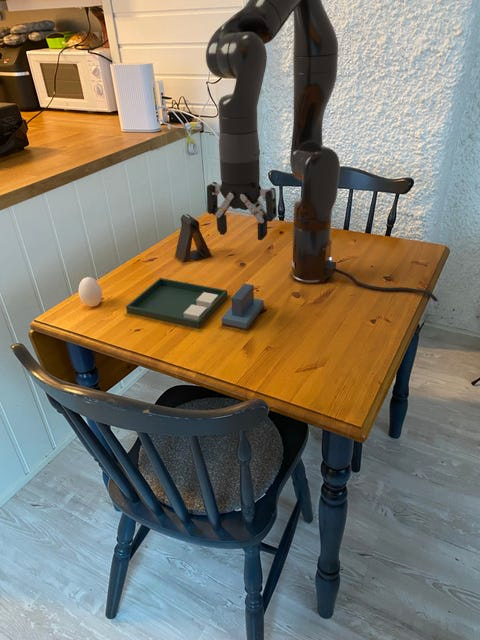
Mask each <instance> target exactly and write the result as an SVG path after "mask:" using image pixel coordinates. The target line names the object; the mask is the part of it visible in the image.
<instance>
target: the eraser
mask: <svg viewBox="0 0 480 640" xmlns="http://www.w3.org/2000/svg"><path fill="white" fill-rule="evenodd" d="M254 289H255V288H254V284H251V283H250V284H249V283H243V284H242V285H241V286H240V287H239V288H238V289H237V291H236V292H235V293H234V294H233V295H232V296H231V299H230V300H231V306H230V307H229V309H227V311H226V312H225V313H224V314H223V315H222V317H221V326H223V327H228V328H232V329H237V330H241V331H244V332H245V331H248V330H249V328H250V327H251V325H252V324H253V323H254V322H255V320H256V319H257V317H258V316H259V315H260V314H261V312H262V311H263V310H264V308H265V300H264V299H261V298H255V291H254Z"/></svg>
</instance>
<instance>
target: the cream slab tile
mask: <svg viewBox="0 0 480 640" xmlns="http://www.w3.org/2000/svg"><path fill="white" fill-rule="evenodd" d="M206 310H207V307H202V306H197V305H191V306H190V307H189V308H188V309H187V310H186V311H185V312H184V318H188V319H193V320H198V319H199V318H200V317H201V316H202V315H203V314H204V313H205V311H206Z"/></svg>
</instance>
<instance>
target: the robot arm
mask: <svg viewBox="0 0 480 640" xmlns="http://www.w3.org/2000/svg"><path fill="white" fill-rule="evenodd" d="M292 14H293V48H292V49H293V50H292V51H293V53H292V76H293V107H292V108H293V123H292V124H293V125H292V135H291V136H292V137H291V146H290V154H289V155H290V156H289V165H290V171H291V173H292V175H293V177H295V179H296V180H298V182H302V191H301V197H299V198H298V199H296V200H295V202H294V205H293V227H292V228H293V229H292V230H293V231H292V258H291V277H292V278H293V279H294V280H295V281H297V282H300V283H304V284H319V283H321V284H323V283H325V281H326V280H327V279H328V277H329V278H333V276H334V274H335V273H337V274H340V275H343V276H345V277H347V278H348V279H349V280H351V282H352V283H354V284H356V285H357V286H360V287H362V288H366V289H369V290H375V291H384V292H396V291H397V292H399V291H400V292H402V291H404V292H405V291H406V292H411V293H412V292H413V293H420V294H425V295H427V296H428V297H430V298H431V300H433V301H434V302H438V301H439V300H438V298H437V297H436V296H435V295H434V294H433V293H432V292H430V291H429V290H426V289H421V288H411V287H405V286H403V287H402V286H398V287H386V286H384V287H383V286H377V285H370V284H367V283H366V284H365V283H363V282H361V281H358V280H357V279H356V278H355V277H354V276H353V275H352V274H350V273H348V272H346V271H343V270H341V269H339V268H337V261H332V257H331V256H332V244H333V243H332V242H333V241H332V239H331V227H332V218H333V217H332V216H333V208H334V206H335V204H336V201H337V198H338V197H337V196H338V189H339V181H340V171H341V162H340V159H339V156H338V155H339V154H337V152H336V151H335V150H333V149H332V148H330V147H329V146H325V145H324V144H323V143H324V142H323V122H324V115H325V112H326V110H327V107H328V104H329V102H330V99H331V97H332V94H333V91H334V89H335V86H336V83H337V78H338V65H339V64H338V63H339V40H338V37H337V34H336V31H335V29H334V26H333V23H332V22H331V19H330V17H329V16H328V13H327V11H326V9H325V7H324V4H323V2H322V0H248V1H247V2H246V4H245V5H244V6H243V8H241V9H240V10H239V11H237V12H236V13H235V14H233V15H232V16H231V17H230V18H229V19H228V20H226V21H225V22H224V23H223V24H222V25H221V26H219V27H218V28H217V29H216V30H215V31H214V33H213V34H212V35H211V37H210V39H209V40H208V43H207V45H206V49H205V63H206V67H207V69H208V70H209V72H210V73H211V74H212V75H213V76H215V77H217V78H219V79H225V80H227V79H228V80H235V85H234V89H233V92H232V93H228V94H225V95H223V96H221V97H220V99H219V100H218V105H217V107H218V108H217V111H218V127H219V128H218V129H219V137H218V151H219V152H218V153H219V170H220V181H221V184H218V183H217V182H216V181H213V182H211V183H209V184H208V185H207V186H206V212H207V214H209V215H213V216H215V218H216V230H217V232H218V233H219V235H221V236H224V235H225V234H226V233H227V232H228V221H227V214H226V213H227V212H228V210H229V209H230V208H231V209H234V210H237V209H239V210H241V211H242V210H243V211H249V212H250V214H251V215H252V216H254V217H255V219H256V220H257V241H263V240H264V239H265V238H266V237H267V235H268V222H269V223H271V222H272V221H273V220H275V218H276V217H277V216H278V213H277V211H278V210H277V193H276V192H277V191H276V188H275V187H270V188H262V187H261V185H260V182H261V181H260V180H261V179H260V177H261V175H260V154H261V149H260V139H259V131H258V129H259V128H258V119H259V118H258V105H259V100H260V96H261V91H262V88H263V87H262V86H263V83H264V77H265V75H266V74H265V73H266V68H267V63H268V55H267V53H268V52H267V48H266V45H267V44H269V43H270V42H272V41H273V40H274V39H275V38H276V36H277V35H278V34H279V32H280V31H281V29H282V28H283V27H284V25H285V24H286V23H287V21H288V19H289V18H290V17H291V15H292ZM219 194H221V195H222V197H223V198H224V199H223V202H222V203H221V205H220V206H218V205H219V203H218V201H219V200H218V197H219ZM260 197H262V200H263V201H264V202H265V208H264V205H263V204H262V202H261V200H260V199H259V198H260Z"/></svg>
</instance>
